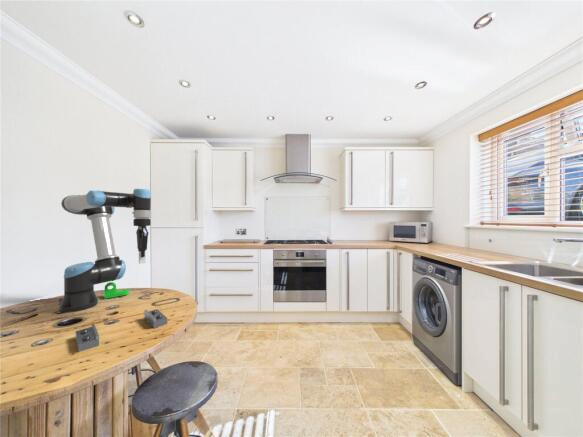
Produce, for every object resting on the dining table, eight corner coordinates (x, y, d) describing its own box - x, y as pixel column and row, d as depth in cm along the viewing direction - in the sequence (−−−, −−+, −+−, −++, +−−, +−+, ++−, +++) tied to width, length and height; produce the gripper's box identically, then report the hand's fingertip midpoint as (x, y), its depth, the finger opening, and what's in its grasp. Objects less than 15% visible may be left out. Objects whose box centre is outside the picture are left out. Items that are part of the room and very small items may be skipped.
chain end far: (144, 318, 105) (144, 310, 105) (157, 315, 110) (157, 306, 110) (153, 328, 96) (153, 319, 96) (167, 324, 100) (167, 315, 100)
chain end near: (75, 338, 88) (75, 328, 88) (94, 333, 92) (93, 323, 92) (78, 353, 79) (78, 341, 79) (99, 346, 83) (99, 335, 83)
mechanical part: (104, 298, 132) (104, 285, 132) (104, 295, 137) (104, 283, 137) (129, 294, 140) (129, 281, 140) (128, 291, 145) (128, 279, 145)
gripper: (130, 218, 118) (130, 262, 118) (136, 218, 109) (136, 266, 110) (146, 218, 124) (146, 260, 124) (154, 218, 115) (154, 263, 115)
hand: (142, 263), depth 117 cm, fingers closed
